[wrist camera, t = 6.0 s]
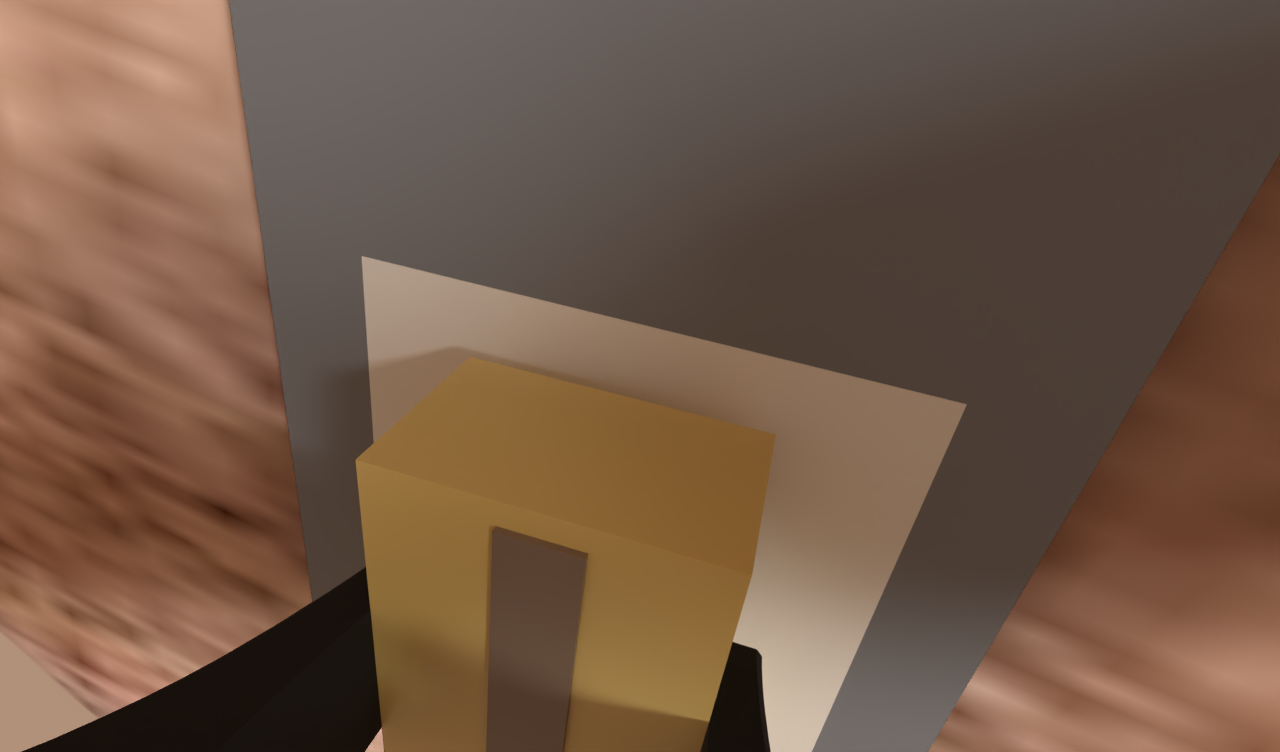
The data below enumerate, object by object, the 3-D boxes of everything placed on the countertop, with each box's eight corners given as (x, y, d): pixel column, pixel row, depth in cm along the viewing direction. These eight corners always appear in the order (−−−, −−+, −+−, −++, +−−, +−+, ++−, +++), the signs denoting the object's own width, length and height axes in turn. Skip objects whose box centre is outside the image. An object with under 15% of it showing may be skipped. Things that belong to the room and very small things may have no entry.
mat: (2184, -1501, 4) (2408, -1753, 3) (886, 791, 15) (887, 819, 15) (115, -1190, 6) (44, -1307, 6) (330, 602, 17) (314, 621, 17)
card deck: (688, 749, 14) (651, 918, 11) (468, 674, 15) (386, 816, 12) (776, 434, 10) (751, 581, 8) (470, 356, 11) (350, 463, 8)
